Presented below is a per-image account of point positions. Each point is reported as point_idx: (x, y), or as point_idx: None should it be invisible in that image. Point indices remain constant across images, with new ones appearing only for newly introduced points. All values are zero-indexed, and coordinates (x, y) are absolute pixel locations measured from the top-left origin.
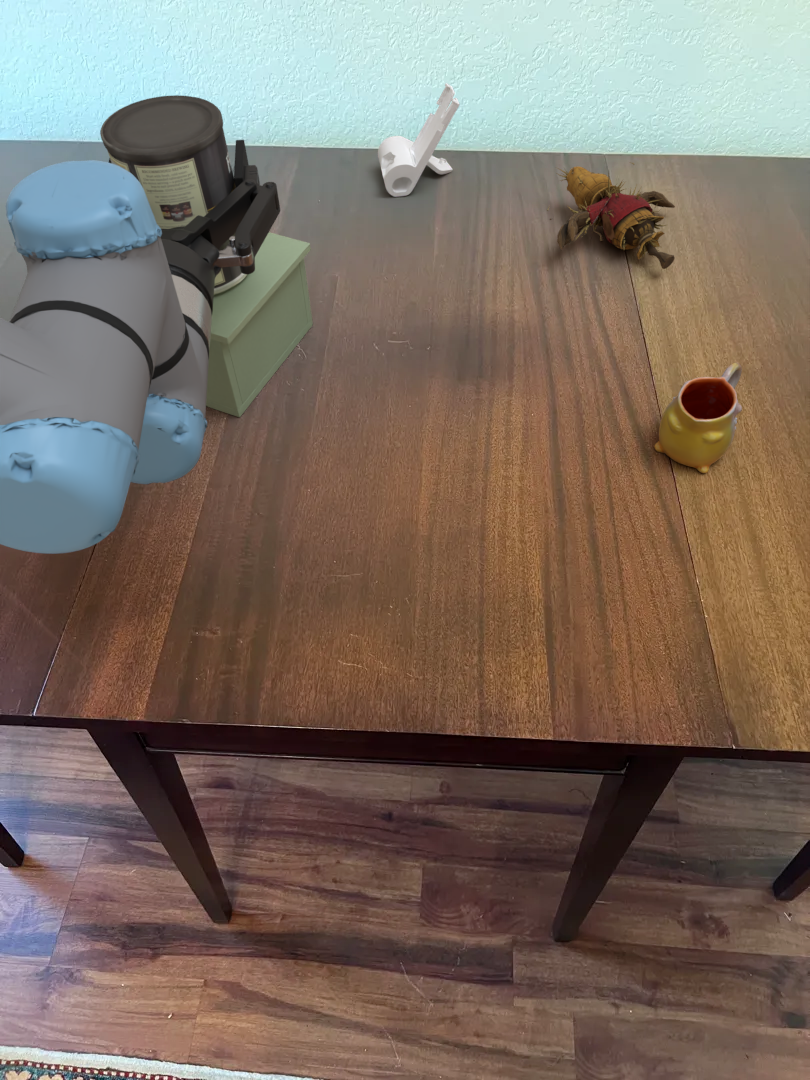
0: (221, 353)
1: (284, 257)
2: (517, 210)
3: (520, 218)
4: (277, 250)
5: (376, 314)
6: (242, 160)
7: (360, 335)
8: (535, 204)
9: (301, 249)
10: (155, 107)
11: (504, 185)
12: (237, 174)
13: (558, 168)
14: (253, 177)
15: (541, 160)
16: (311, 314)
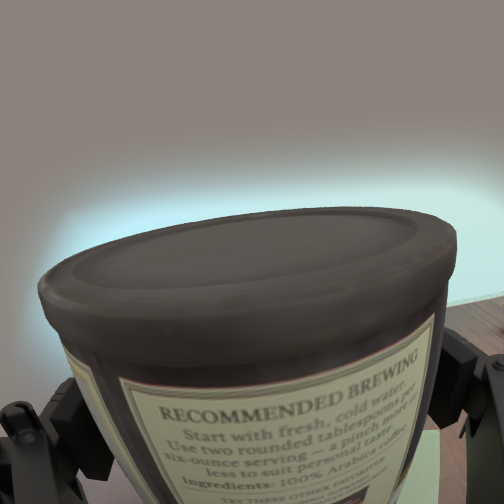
0: None
1: (420, 466)
2: (481, 340)
3: (488, 345)
4: None
5: (454, 469)
6: None
7: (453, 500)
8: (487, 333)
9: (436, 444)
10: (214, 227)
11: (458, 327)
12: (458, 351)
13: (502, 305)
14: (472, 351)
15: (463, 308)
16: None
